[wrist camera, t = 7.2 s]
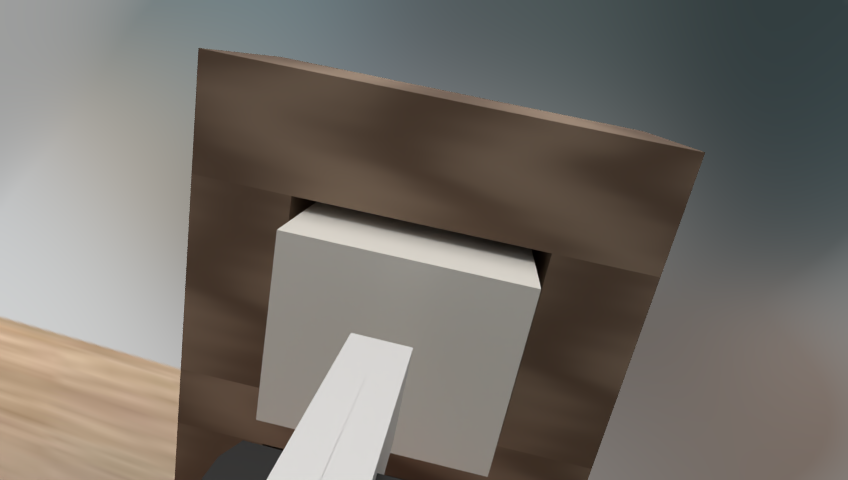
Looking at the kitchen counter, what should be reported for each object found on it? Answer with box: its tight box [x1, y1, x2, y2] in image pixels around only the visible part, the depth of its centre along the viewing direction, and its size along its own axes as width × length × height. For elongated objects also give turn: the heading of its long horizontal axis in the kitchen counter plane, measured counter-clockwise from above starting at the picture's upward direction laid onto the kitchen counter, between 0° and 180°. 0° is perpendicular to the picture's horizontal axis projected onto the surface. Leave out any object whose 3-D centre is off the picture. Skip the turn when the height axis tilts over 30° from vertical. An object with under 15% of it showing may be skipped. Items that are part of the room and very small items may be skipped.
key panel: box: [175, 48, 705, 480], centre depth 21 cm, size 14×6×24 cm, turn 83°
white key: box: [256, 202, 541, 477], centre depth 17 cm, size 7×5×6 cm
